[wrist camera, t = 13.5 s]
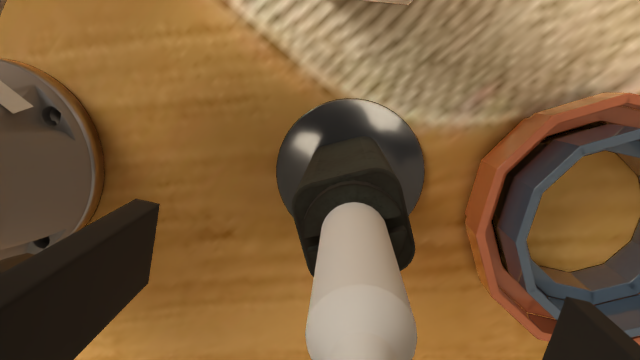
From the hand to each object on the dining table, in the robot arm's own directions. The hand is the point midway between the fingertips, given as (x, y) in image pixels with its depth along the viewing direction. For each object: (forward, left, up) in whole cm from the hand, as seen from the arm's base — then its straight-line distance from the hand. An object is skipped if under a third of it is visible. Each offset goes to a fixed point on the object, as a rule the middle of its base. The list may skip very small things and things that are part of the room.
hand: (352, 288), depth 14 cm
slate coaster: (0, 0, -20) cm, 20 cm away
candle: (0, 0, -19) cm, 19 cm away
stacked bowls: (+17, +1, -20) cm, 26 cm away
